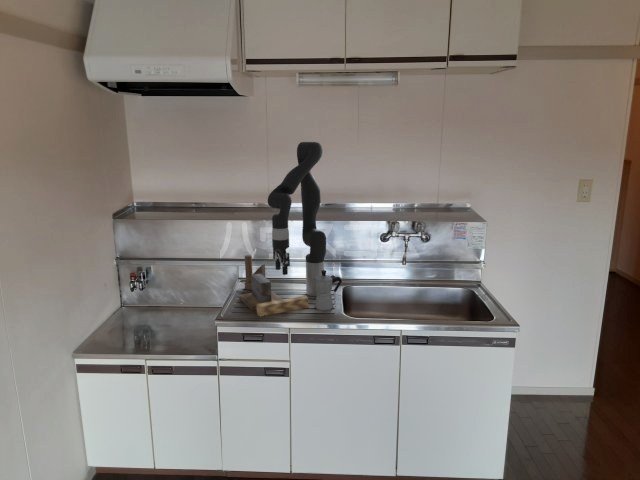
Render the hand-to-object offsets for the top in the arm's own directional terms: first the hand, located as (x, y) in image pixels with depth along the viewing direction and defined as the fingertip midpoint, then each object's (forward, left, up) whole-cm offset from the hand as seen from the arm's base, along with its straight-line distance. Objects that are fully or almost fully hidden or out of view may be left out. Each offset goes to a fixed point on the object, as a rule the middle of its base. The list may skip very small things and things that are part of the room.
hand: (281, 272), depth 220 cm
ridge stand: (+5, -15, -19) cm, 24 cm away
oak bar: (0, 0, -19) cm, 19 cm away
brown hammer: (+2, -33, -19) cm, 38 cm away
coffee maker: (-20, +6, -19) cm, 28 cm away
